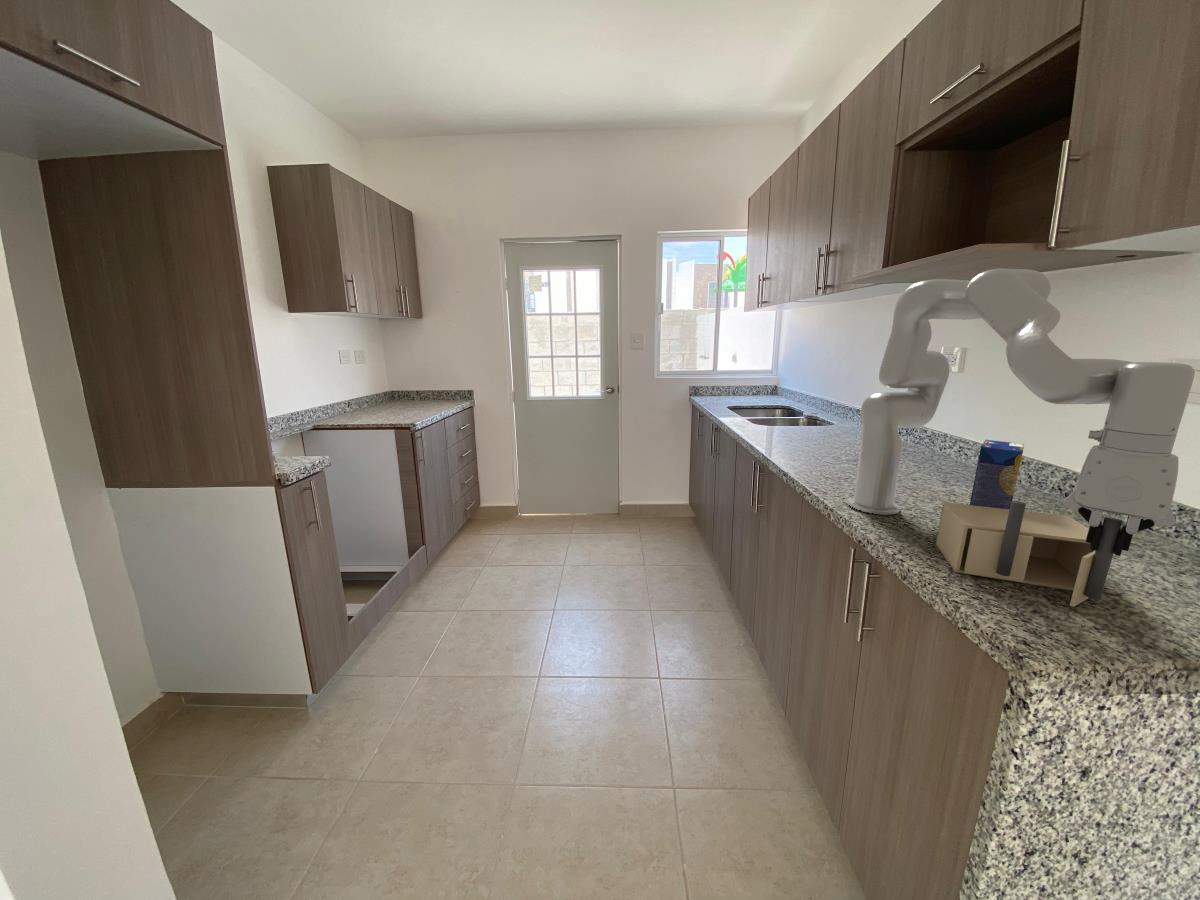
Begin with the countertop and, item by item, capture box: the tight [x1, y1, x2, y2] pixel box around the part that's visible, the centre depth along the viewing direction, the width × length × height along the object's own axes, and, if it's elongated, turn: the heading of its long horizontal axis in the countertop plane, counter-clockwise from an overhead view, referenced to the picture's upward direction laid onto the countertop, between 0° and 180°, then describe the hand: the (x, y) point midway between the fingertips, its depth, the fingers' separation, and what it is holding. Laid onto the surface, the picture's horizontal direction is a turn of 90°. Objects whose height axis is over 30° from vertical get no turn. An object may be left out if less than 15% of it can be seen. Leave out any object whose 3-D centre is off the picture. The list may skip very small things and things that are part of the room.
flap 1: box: [964, 500, 1034, 583], centre depth 85 cm, size 2×9×16 cm, turn 67°
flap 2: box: [1069, 516, 1123, 608], centre depth 77 cm, size 2×9×16 cm, turn 117°
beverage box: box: [969, 439, 1025, 509], centre depth 104 cm, size 7×11×22 cm, turn 137°
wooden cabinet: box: [935, 501, 1096, 592], centre depth 92 cm, size 14×21×10 cm, turn 67°
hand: (1105, 549), depth 76 cm, fingers closed on flap 2, 2 cm apart
